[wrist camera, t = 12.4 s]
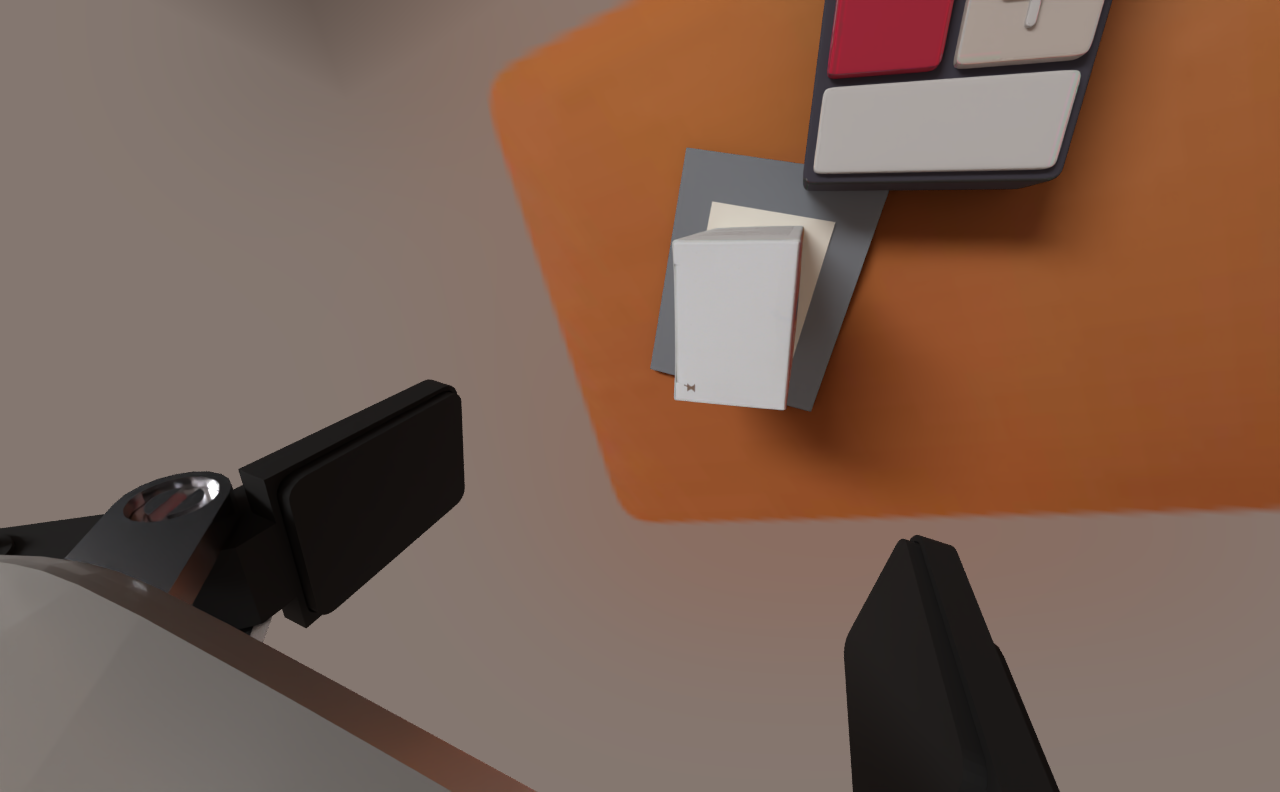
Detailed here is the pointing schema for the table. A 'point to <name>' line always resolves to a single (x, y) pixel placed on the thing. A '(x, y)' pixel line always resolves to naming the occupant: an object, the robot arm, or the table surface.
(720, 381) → the small box
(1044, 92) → the calculator
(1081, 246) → the table surface
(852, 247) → the board
